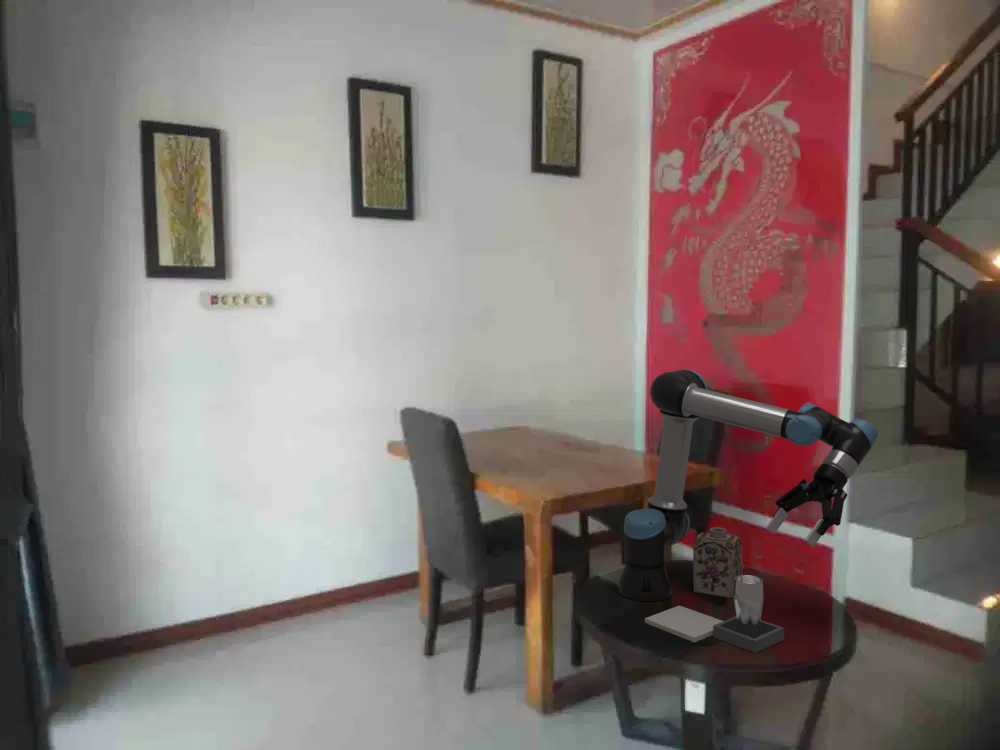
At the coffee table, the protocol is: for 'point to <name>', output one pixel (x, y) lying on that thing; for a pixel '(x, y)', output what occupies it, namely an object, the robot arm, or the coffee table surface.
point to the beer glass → (748, 604)
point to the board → (684, 623)
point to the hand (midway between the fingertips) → (789, 537)
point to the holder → (728, 634)
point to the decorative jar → (716, 562)
